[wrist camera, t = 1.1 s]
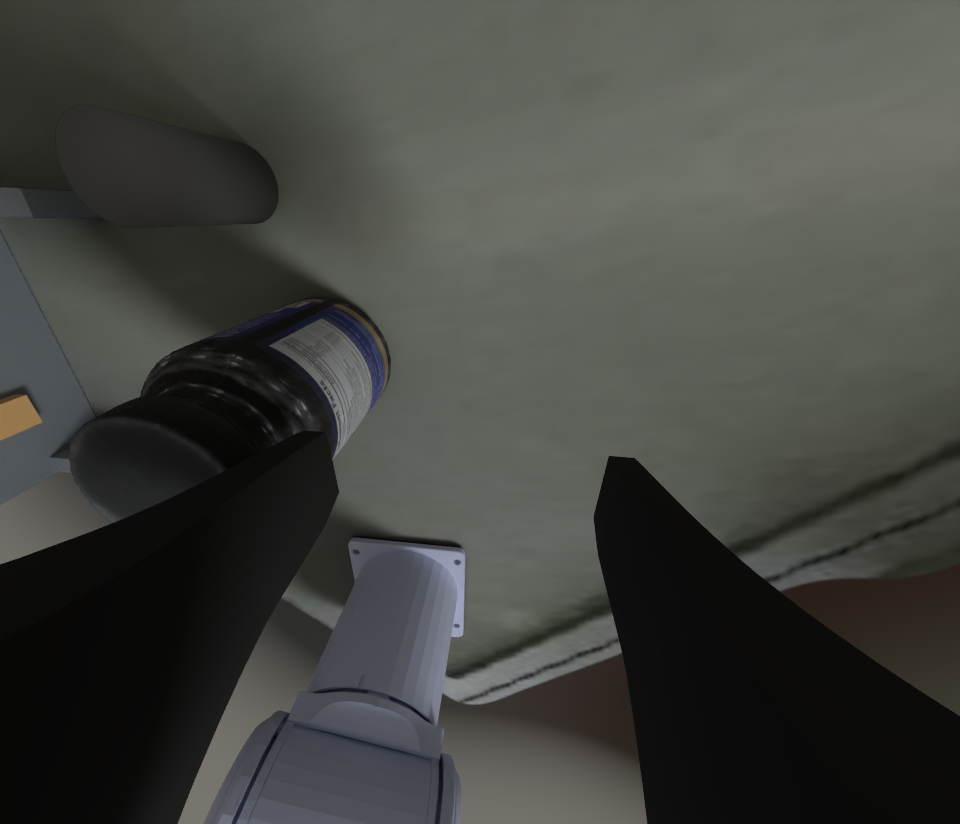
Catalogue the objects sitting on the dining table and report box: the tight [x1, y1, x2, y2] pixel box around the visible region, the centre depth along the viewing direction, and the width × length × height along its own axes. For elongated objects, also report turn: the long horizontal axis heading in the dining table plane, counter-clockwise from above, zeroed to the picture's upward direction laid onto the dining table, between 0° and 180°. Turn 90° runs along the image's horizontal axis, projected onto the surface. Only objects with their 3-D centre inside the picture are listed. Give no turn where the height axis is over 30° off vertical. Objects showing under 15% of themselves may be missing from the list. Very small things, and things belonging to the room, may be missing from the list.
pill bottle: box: [68, 297, 391, 523], centre depth 15 cm, size 6×6×11 cm
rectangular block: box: [0, 187, 100, 504], centre depth 18 cm, size 14×7×6 cm, turn 178°
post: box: [55, 104, 278, 228], centre depth 13 cm, size 3×3×6 cm
